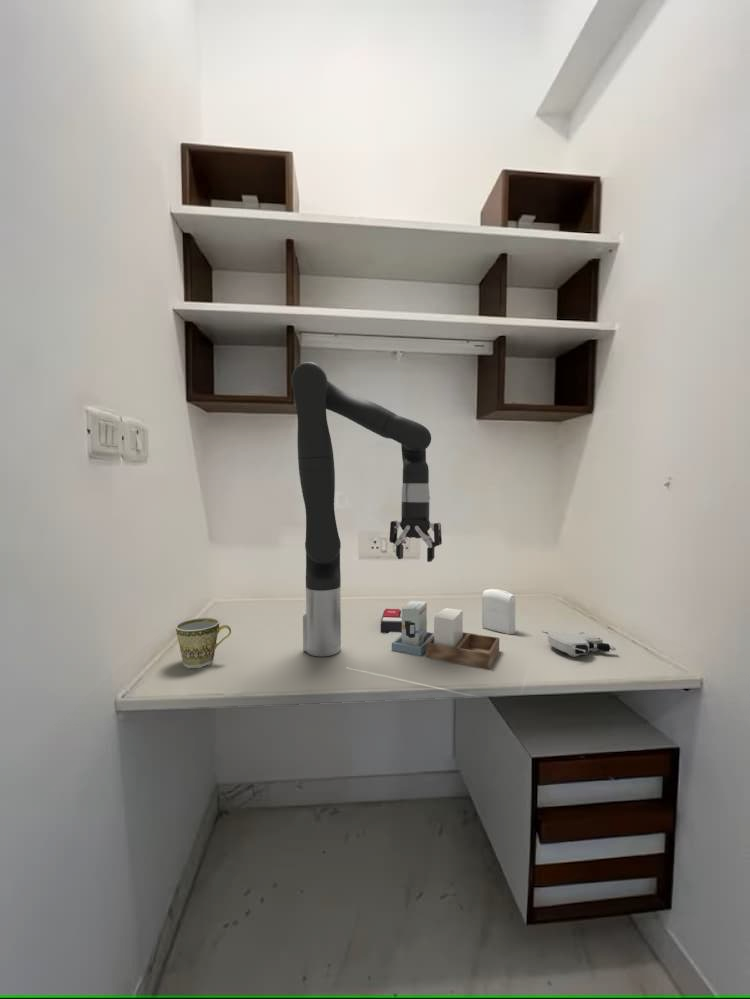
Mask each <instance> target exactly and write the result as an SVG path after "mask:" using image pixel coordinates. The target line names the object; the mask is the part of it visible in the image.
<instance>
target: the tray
mask: <svg viewBox="0 0 750 999" xmlns="http://www.w3.org/2000/svg"><path fill="white" fill-rule="evenodd" d="M433 636H434V632H430V631H427V640H426V641H425V642H424V643H423V644H422V645H421V646H420V647H417V646H411V645H406V644H402V634H401V635H400V636H398V637H397V638H396V639H394V641H392V642H391V651H393V652H397V653H404V654H406V655H407V654H408V655H414V656H418V657H422V656H423V654H424V653H426V643H427V642H428V641H429V640H430V639H431V638H432V637H433Z"/></svg>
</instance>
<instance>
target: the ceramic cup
mask: <svg viewBox="0 0 750 999" xmlns="http://www.w3.org/2000/svg"><path fill="white" fill-rule="evenodd" d="M223 629H228V631H229V633H228V634H227V635H226V636H224V637H223V638H222V639H221V640H220V641H219V642H218V643H217V641H218V640H217V639H218V635H219V633H220V632H221V630H223ZM175 632H176V637H177V642H178V645H179V651H180V653H181V658H182V665H183V667H185V668H186V669H190V668H198V669H202V668H201V667H203V666H206V665H209V664H212V663H213V662H214V658H215V653H216V652H215V651H216V649H217V647H218V646H219V645H220V644H222V642H223V641H224V640H226V639H227V638H229V636H230V635H231V633H232V629H231V627H230V626H229V625H228V624H223V625H221V626H220V620H219V619H218V618H215V617H196V618H195V617H194V618H190V619H186V620H183V621H181V622H179V623H177V624H176V626H175ZM212 661H213V662H212ZM211 662H212V663H211ZM209 666H210V665H209ZM206 667H207V666H206ZM203 668H204V667H203ZM190 670H191V669H190Z"/></svg>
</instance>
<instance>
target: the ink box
mask: <svg viewBox="0 0 750 999" xmlns="http://www.w3.org/2000/svg"><path fill="white" fill-rule="evenodd" d="M427 604H428V602H427V601H422V600H421V601H419V600H410V601H409V602H408V603H407V604H406V605H404V606H403V607H402V608H401V609H402V632H401V635H402V644H406V645H411V646H417V647H420V646H421V645H422V644H423V643H424V642H425V641H426V640H427V632H428V631H427V630H428V629H427V628H428V627H427V626H428V623H427V622H428V621H427V620H428V618H427V617H428V616H427V614H428V612H427V610H428V609H427Z"/></svg>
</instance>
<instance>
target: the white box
mask: <svg viewBox="0 0 750 999" xmlns="http://www.w3.org/2000/svg"><path fill="white" fill-rule="evenodd" d="M463 612H464V611H463V610H462V609H455V608H447V607H445V608H443V609H442V610H441V611H440V612H438V613H437V614H436V615H435V616H434V617H433V622H434V624H433V627H434V628H433V633H434V644H438V645H444V646H450V647H457V646H458V644H459V643H460V642H461V641H462V639H463V629H464V628H463V626H464V625H463V622H464V621H463V620H464V619H463V618H464V613H463Z"/></svg>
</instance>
